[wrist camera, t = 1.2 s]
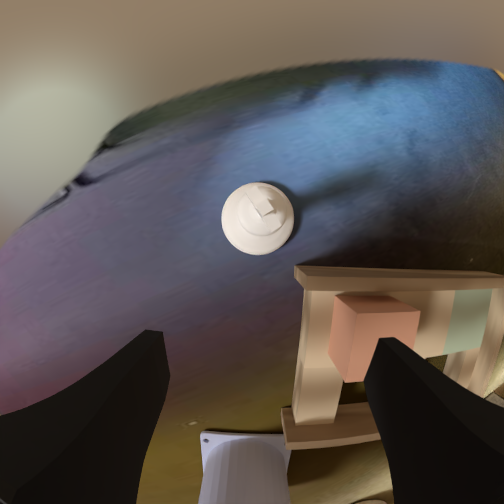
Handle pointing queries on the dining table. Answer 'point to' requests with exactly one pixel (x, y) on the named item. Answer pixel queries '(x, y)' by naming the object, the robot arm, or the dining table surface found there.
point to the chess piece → (257, 218)
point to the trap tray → (426, 345)
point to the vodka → (372, 502)
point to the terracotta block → (367, 330)
